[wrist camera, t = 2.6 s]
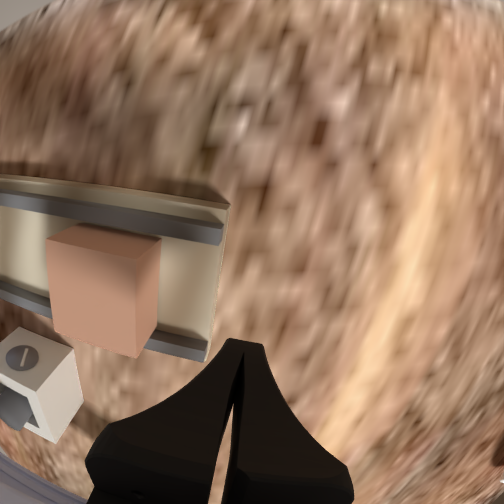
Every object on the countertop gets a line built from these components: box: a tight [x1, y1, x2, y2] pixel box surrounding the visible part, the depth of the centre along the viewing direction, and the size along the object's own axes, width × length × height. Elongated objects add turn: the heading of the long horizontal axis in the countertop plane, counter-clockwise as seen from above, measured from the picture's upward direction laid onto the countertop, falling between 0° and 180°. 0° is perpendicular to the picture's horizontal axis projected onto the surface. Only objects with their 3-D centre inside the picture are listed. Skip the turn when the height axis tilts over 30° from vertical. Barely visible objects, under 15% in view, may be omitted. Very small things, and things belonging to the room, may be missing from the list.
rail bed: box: [0, 174, 231, 362], centre depth 16 cm, size 19×9×6 cm, turn 80°
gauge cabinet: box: [0, 327, 84, 444], centre depth 19 cm, size 6×6×6 cm
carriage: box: [45, 223, 162, 358], centre depth 15 cm, size 5×5×3 cm
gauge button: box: [0, 387, 33, 431], centre depth 17 cm, size 3×3×5 cm
